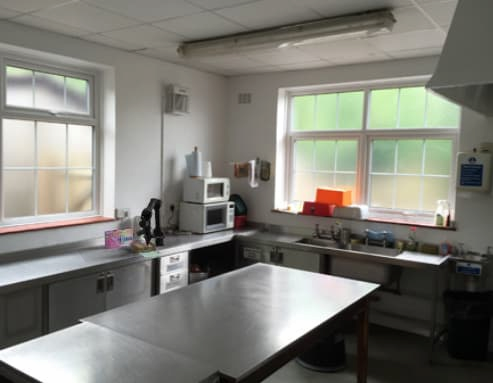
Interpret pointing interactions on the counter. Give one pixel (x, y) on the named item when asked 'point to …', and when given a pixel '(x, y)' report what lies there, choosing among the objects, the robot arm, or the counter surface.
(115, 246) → the gum box
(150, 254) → the lid
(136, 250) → the box
